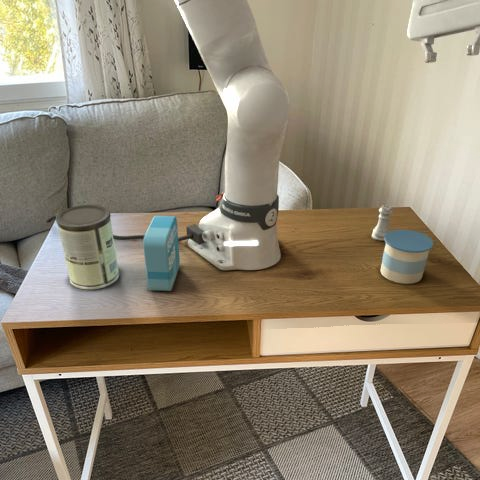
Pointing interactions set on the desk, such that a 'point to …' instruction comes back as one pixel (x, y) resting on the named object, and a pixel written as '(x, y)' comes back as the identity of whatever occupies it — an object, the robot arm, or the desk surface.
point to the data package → (161, 253)
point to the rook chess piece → (382, 223)
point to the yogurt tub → (405, 256)
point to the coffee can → (88, 246)
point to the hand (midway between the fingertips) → (450, 59)
